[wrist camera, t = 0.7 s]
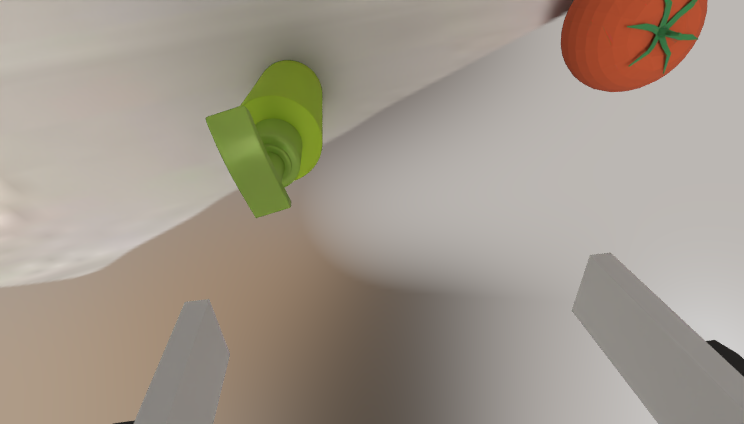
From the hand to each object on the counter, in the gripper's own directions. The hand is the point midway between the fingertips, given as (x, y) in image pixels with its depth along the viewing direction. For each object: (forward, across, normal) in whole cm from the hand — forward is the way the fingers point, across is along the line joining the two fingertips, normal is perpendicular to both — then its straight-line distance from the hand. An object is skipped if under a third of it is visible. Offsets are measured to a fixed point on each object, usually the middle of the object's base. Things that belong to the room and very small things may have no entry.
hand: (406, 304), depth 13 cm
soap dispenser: (+27, -6, +2) cm, 28 cm away
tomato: (+27, +23, +5) cm, 36 cm away
